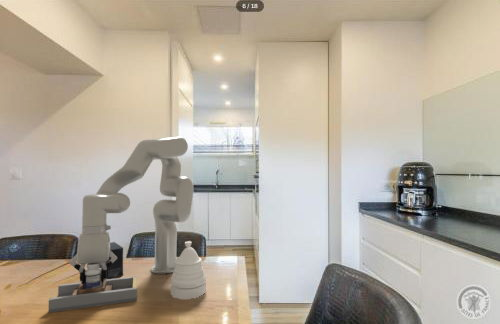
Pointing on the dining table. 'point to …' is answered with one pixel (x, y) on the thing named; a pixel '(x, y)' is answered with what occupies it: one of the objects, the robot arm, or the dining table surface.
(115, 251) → the small box
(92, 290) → the crate
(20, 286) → the dining table surface
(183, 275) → the honey pot
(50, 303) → the bay
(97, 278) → the pill bottle
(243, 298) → the dining table surface
